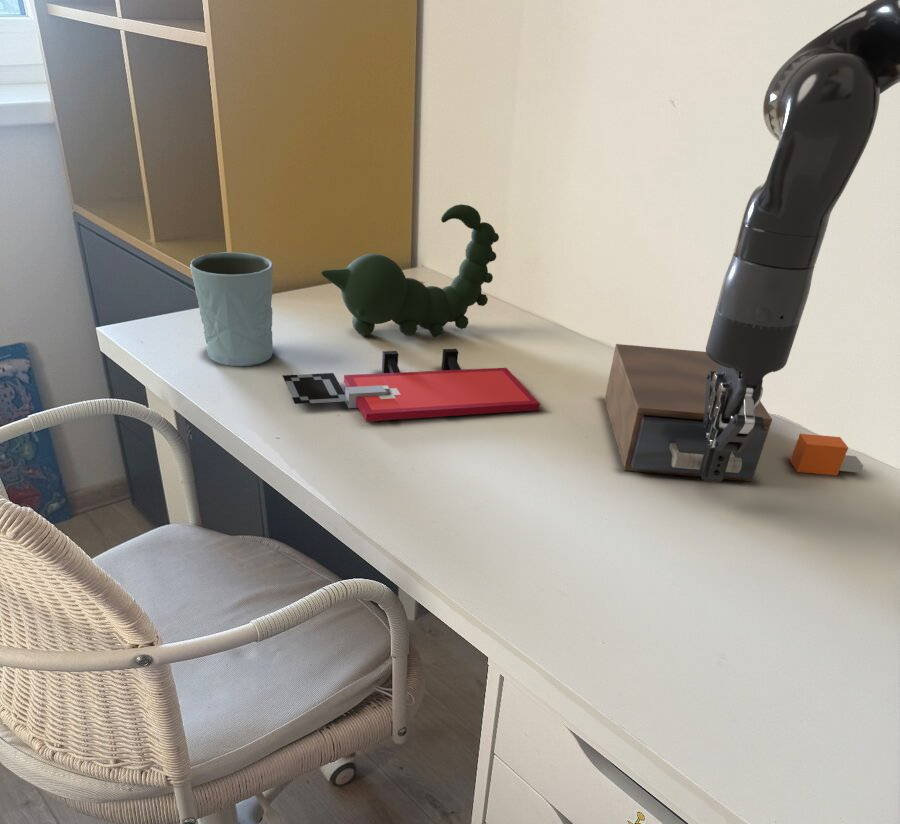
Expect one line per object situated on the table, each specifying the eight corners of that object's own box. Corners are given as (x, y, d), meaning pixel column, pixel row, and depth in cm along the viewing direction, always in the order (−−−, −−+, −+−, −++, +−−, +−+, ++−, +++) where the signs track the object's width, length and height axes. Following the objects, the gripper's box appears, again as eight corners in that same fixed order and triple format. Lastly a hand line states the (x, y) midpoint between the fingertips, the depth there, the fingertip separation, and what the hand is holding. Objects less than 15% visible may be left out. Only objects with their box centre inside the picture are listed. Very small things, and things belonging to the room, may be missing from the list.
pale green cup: (292, 357, 113) (288, 266, 105) (229, 375, 107) (220, 279, 99) (247, 336, 118) (241, 247, 111) (185, 351, 112) (173, 258, 105)
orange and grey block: (851, 466, 99) (862, 438, 97) (859, 477, 97) (871, 449, 95) (789, 461, 99) (799, 433, 97) (796, 472, 97) (807, 444, 94)
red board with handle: (279, 376, 107) (302, 429, 96) (279, 355, 105) (302, 406, 94) (494, 366, 116) (538, 413, 105) (497, 346, 114) (541, 392, 103)
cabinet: (751, 481, 94) (772, 419, 89) (624, 470, 94) (638, 407, 89) (714, 409, 109) (730, 353, 105) (604, 400, 109) (615, 343, 105)
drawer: (761, 498, 89) (778, 449, 85) (637, 488, 89) (649, 438, 85) (715, 410, 107) (727, 366, 104) (612, 401, 107) (621, 357, 103)
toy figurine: (466, 329, 132) (311, 320, 123) (488, 201, 121) (320, 181, 112) (487, 351, 125) (323, 343, 116) (512, 216, 114) (334, 197, 105)
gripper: (823, 337, 71) (762, 513, 81) (778, 292, 81) (730, 453, 92) (735, 330, 71) (686, 507, 81) (703, 286, 81) (663, 447, 91)
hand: (710, 478), depth 86 cm, fingers closed
